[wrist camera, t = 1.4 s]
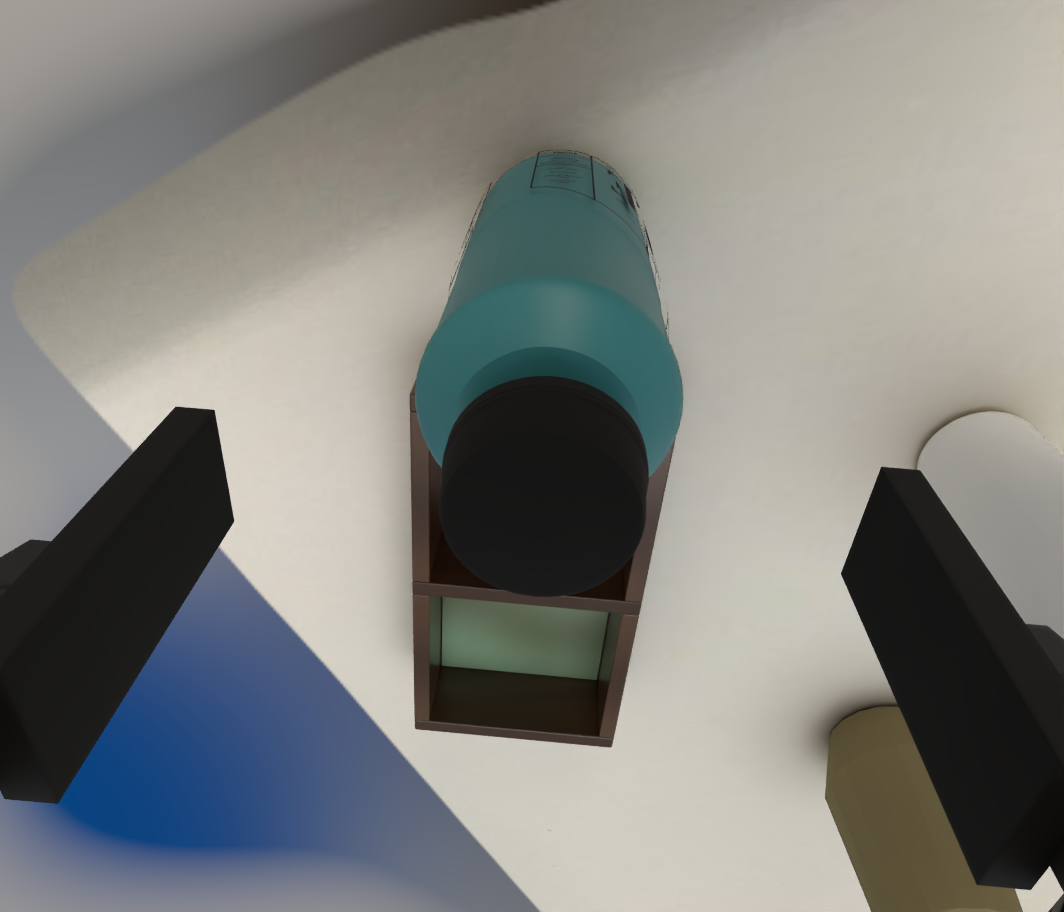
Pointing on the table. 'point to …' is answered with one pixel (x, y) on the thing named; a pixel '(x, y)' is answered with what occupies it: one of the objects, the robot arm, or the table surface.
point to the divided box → (517, 634)
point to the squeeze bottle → (899, 822)
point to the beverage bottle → (550, 382)
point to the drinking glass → (1006, 505)
